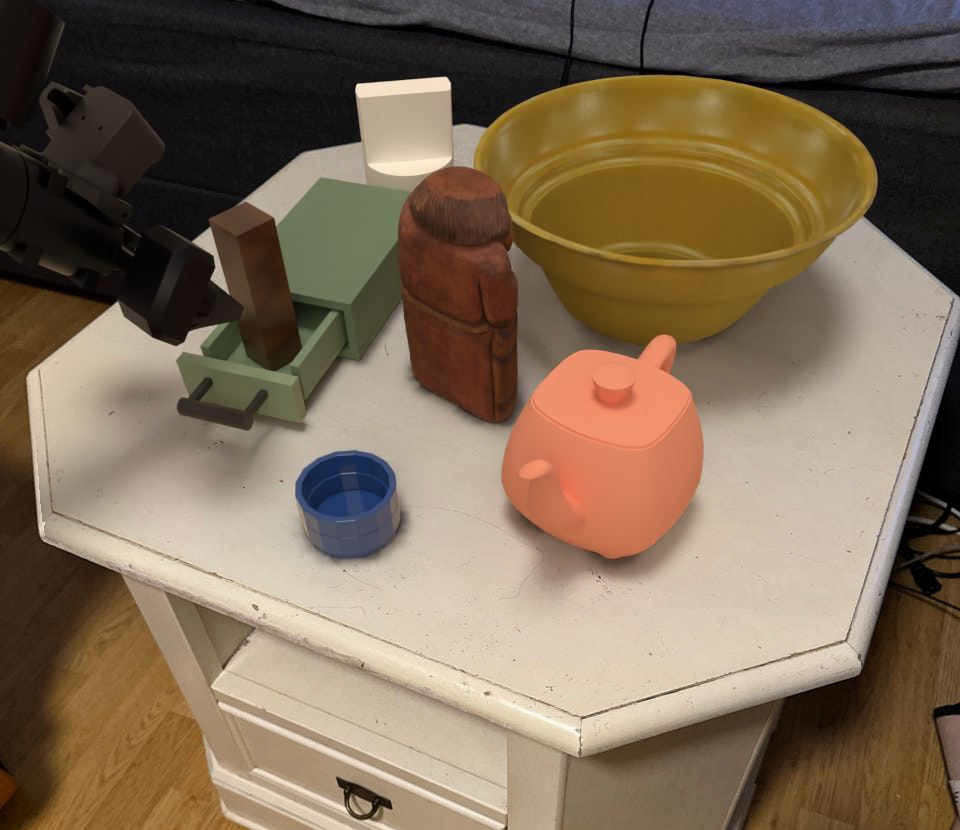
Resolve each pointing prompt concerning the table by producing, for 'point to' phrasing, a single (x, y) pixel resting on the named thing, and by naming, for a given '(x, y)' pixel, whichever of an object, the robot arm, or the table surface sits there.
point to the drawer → (259, 372)
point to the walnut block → (258, 284)
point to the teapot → (607, 450)
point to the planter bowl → (672, 197)
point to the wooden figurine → (461, 290)
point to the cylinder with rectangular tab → (405, 130)
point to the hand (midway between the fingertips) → (203, 288)
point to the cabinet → (345, 254)
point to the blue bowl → (348, 503)
